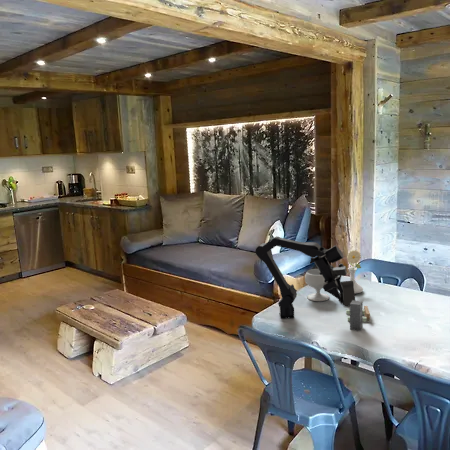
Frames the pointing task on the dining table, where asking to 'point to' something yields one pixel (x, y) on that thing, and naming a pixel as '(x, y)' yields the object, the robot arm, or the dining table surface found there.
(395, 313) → the dining table surface
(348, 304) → the phone stand
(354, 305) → the block
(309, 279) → the chalice
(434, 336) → the dining table surface
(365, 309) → the keeper
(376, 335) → the dining table surface
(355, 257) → the flower in vase
